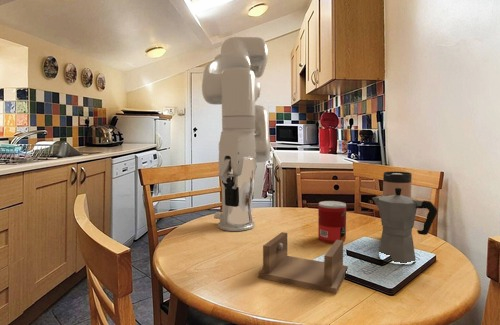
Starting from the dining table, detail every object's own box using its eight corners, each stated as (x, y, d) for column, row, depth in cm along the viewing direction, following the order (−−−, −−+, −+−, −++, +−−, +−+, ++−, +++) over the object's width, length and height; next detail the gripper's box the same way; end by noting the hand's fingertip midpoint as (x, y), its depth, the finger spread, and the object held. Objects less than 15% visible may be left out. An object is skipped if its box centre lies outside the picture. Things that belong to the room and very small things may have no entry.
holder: (258, 277, 70) (257, 245, 70) (278, 258, 81) (278, 231, 80) (336, 294, 62) (336, 258, 62) (347, 271, 73) (348, 240, 72)
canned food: (347, 244, 91) (347, 206, 90) (318, 243, 93) (318, 205, 92) (344, 236, 98) (345, 201, 98) (318, 235, 100) (318, 200, 99)
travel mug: (409, 237, 97) (411, 171, 95) (410, 245, 90) (412, 174, 88) (382, 234, 100) (383, 171, 98) (381, 241, 93) (382, 173, 91)
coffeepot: (362, 256, 82) (363, 187, 81) (379, 247, 88) (380, 183, 87) (427, 274, 71) (430, 194, 69) (441, 262, 77) (444, 189, 76)
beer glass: (244, 227, 70) (243, 159, 68) (219, 223, 73) (217, 158, 72) (260, 219, 76) (260, 157, 74) (236, 215, 79) (235, 155, 78)
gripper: (242, 125, 81) (243, 193, 83) (202, 125, 66) (204, 209, 68) (269, 124, 78) (269, 196, 80) (233, 124, 63) (235, 213, 65)
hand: (239, 201), depth 74 cm, fingers closed on beer glass, 6 cm apart
